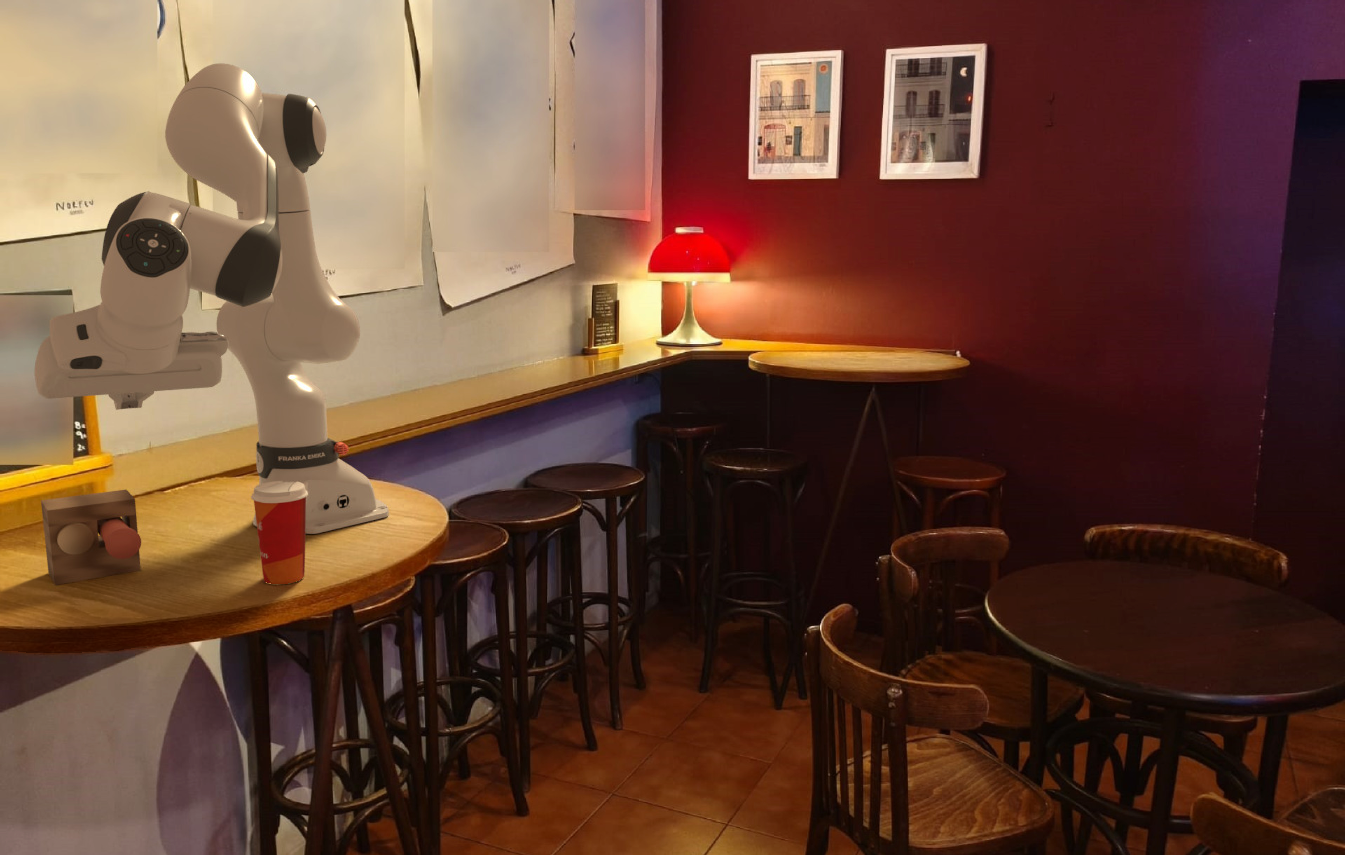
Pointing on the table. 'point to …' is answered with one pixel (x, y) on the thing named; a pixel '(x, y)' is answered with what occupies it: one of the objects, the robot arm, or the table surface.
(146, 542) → the table surface
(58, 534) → the socket block
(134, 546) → the red plug
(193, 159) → the robot arm
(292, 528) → the paper cup
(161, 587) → the table surface
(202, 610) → the table surface
